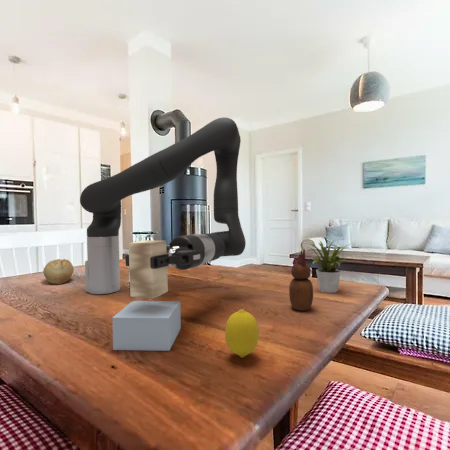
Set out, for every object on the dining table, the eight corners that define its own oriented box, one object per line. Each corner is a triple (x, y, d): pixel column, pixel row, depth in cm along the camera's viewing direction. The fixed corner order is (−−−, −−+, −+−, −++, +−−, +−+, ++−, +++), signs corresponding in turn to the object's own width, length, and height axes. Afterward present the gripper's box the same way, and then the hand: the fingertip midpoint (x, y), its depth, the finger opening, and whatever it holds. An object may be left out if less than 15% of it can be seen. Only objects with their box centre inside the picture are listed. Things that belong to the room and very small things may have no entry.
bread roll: (70, 276, 119) (70, 256, 118) (76, 283, 106) (76, 260, 106) (42, 279, 113) (41, 258, 113) (45, 287, 101) (44, 263, 100)
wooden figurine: (314, 313, 71) (314, 250, 70) (289, 312, 72) (289, 249, 72) (311, 305, 78) (311, 247, 77) (289, 304, 79) (288, 246, 78)
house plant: (291, 290, 92) (291, 237, 91) (312, 283, 102) (312, 234, 101) (337, 299, 82) (337, 240, 82) (355, 289, 92) (355, 236, 92)
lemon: (224, 350, 52) (223, 305, 52) (255, 349, 53) (255, 303, 52) (226, 366, 47) (226, 315, 46) (262, 364, 47) (261, 314, 47)
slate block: (113, 351, 53) (112, 317, 53) (133, 329, 63) (132, 301, 63) (169, 351, 53) (168, 317, 52) (180, 329, 62) (180, 301, 62)
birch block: (130, 296, 56) (128, 243, 56) (146, 289, 61) (144, 240, 60) (153, 298, 54) (151, 243, 54) (167, 291, 59) (166, 240, 59)
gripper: (167, 234, 73) (111, 240, 58) (218, 235, 66) (169, 242, 51) (168, 264, 73) (112, 278, 59) (219, 269, 66) (170, 286, 52)
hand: (139, 261), depth 55 cm, fingers closed on birch block, 5 cm apart
